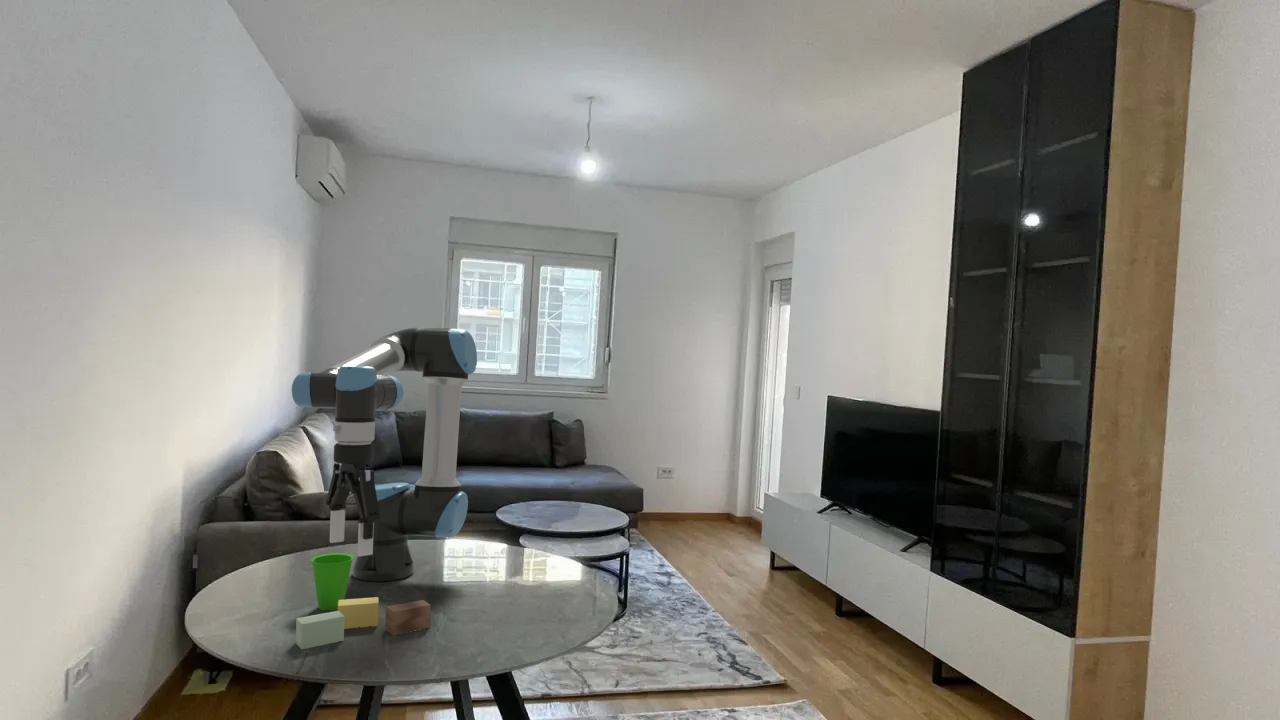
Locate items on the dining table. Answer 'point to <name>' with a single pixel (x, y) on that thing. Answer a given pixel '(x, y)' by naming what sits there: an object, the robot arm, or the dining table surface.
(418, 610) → the walnut brick
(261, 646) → the dining table surface
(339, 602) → the mustard brick
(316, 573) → the cup
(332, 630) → the sage brick
